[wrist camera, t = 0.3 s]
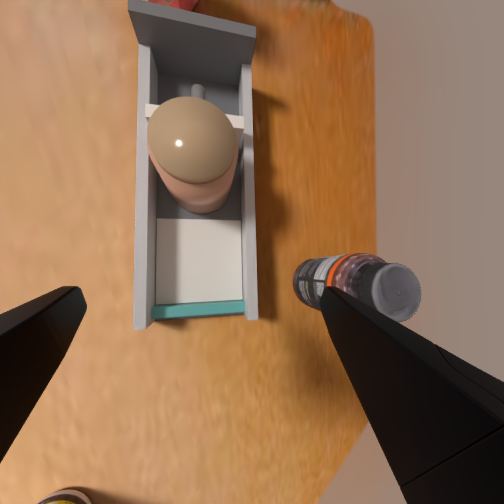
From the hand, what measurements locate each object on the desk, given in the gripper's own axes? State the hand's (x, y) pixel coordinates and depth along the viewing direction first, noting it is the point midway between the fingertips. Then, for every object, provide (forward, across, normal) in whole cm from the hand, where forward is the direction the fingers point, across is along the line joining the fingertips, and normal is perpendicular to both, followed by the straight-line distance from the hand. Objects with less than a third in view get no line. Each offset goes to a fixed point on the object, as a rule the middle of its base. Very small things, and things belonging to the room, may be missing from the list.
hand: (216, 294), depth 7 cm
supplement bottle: (+12, -12, +9) cm, 19 cm away
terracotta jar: (+17, +2, -1) cm, 17 cm away
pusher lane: (+18, +2, 0) cm, 18 cm away
